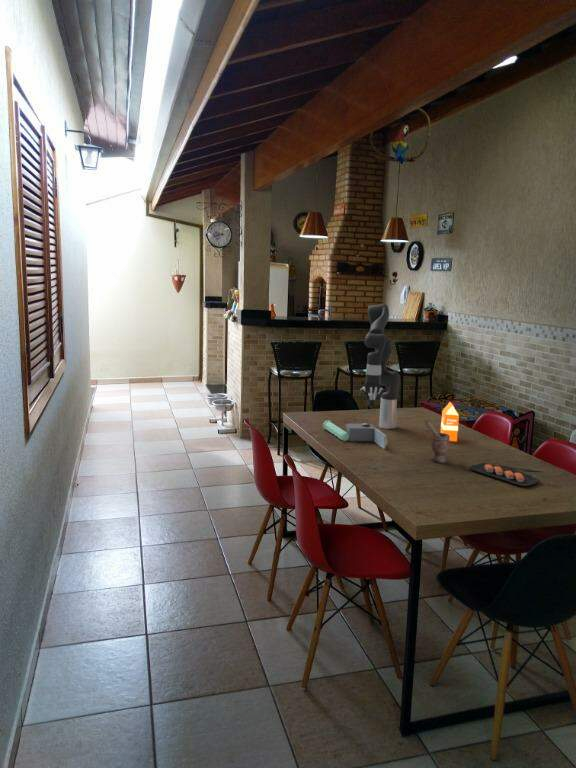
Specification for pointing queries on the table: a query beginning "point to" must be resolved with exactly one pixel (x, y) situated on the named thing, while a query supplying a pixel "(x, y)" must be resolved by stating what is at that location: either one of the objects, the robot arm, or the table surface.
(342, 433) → the mint green bar
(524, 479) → the sushi plate
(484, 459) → the table surface
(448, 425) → the orange juice
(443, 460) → the mortar and pestle
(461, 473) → the table surface
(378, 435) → the side door
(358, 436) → the camera case
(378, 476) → the table surface
